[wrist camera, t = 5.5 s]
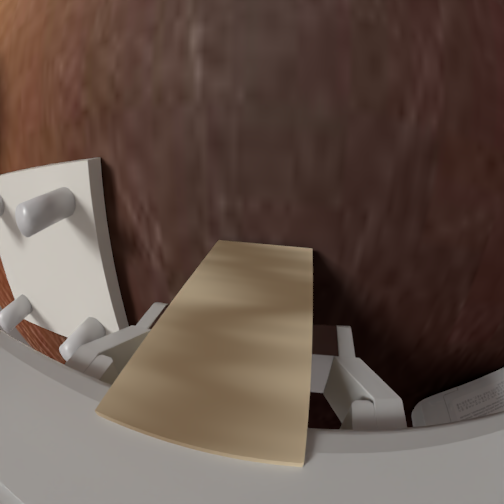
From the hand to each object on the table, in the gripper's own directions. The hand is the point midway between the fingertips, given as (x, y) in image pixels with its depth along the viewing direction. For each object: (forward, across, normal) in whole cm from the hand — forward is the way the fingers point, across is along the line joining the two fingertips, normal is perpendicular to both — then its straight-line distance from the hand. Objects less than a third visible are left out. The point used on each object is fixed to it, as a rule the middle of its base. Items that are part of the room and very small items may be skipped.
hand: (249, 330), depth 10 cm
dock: (+3, +14, 0) cm, 15 cm away
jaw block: (+3, 0, 0) cm, 3 cm away
